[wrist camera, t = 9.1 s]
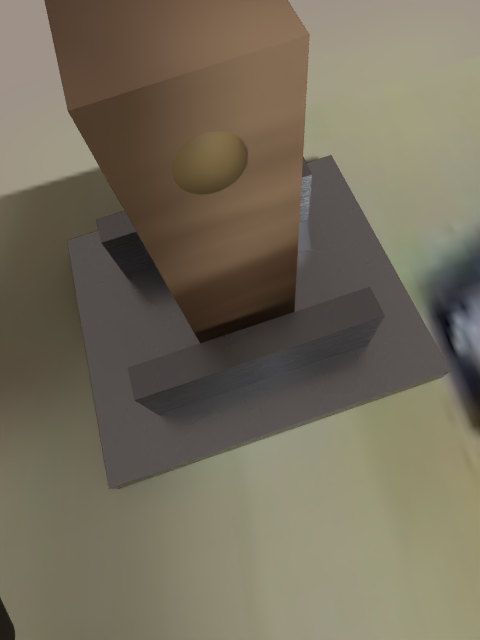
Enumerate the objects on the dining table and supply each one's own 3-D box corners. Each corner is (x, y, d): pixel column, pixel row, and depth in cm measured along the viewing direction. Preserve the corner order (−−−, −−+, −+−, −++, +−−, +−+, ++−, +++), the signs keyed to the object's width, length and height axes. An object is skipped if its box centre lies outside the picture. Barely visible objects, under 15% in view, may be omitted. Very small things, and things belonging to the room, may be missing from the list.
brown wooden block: (293, 322, 18) (309, 34, 6) (205, 352, 17) (67, 110, 6) (263, 248, 19) (233, -85, 8) (181, 275, 19) (39, -26, 8)
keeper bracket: (441, 377, 17) (485, 345, 13) (118, 488, 17) (71, 487, 13) (329, 169, 22) (338, 103, 18) (76, 251, 21) (33, 201, 18)
